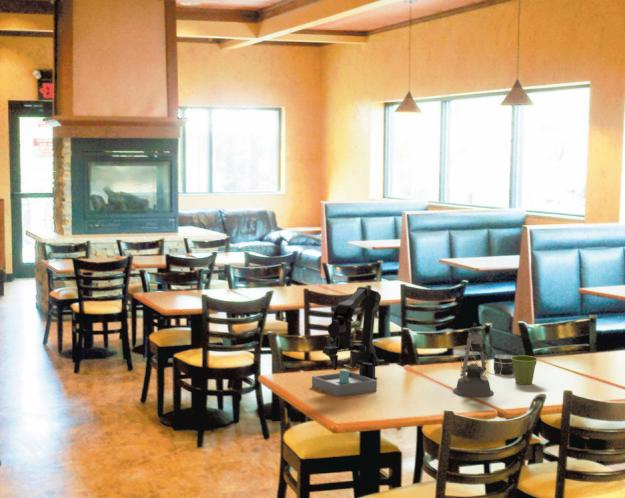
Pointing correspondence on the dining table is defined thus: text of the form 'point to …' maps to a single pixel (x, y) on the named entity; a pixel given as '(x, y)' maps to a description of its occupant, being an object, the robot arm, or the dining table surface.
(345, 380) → the peg
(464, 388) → the lantern
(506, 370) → the jar
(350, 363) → the condiment
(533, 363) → the plant pot
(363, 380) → the box
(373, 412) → the dining table surface
